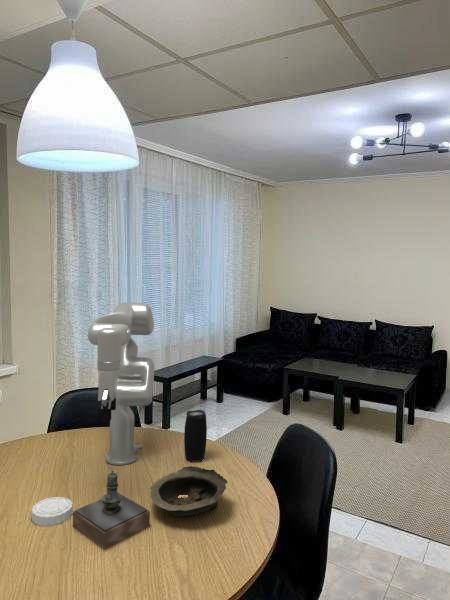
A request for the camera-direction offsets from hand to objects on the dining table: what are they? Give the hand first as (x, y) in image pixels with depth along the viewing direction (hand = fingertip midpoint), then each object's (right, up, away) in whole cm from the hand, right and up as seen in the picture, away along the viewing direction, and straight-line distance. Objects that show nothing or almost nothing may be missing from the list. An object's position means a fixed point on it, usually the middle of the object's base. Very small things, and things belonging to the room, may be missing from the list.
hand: (108, 414), depth 150 cm
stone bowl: (+27, -30, -4) cm, 40 cm away
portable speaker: (+27, -27, +34) cm, 51 cm away
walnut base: (+5, -29, -16) cm, 34 cm away
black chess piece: (+5, -24, -16) cm, 30 cm away
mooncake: (-15, -29, -11) cm, 34 cm away
